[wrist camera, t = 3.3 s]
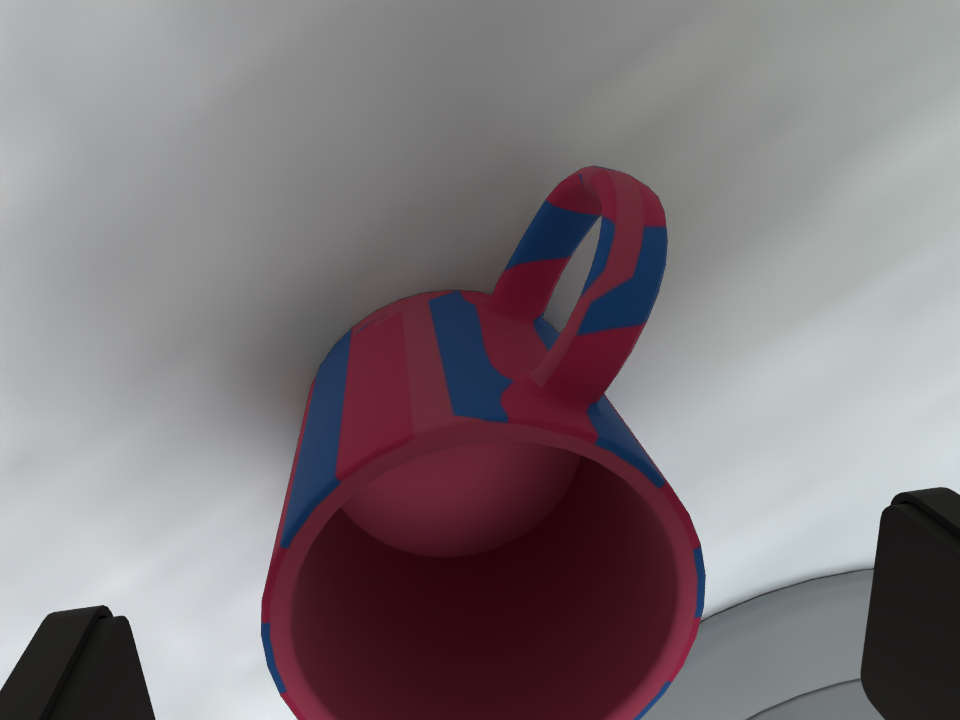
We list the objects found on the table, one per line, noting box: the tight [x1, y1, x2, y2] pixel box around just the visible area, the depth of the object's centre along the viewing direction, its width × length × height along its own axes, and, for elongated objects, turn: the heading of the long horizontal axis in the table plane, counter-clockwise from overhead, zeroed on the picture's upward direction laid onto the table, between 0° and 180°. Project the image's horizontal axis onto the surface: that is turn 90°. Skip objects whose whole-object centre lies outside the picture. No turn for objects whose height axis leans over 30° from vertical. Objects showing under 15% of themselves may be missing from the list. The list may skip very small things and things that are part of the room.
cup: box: [261, 166, 706, 720], centre depth 14 cm, size 7×10×7 cm
